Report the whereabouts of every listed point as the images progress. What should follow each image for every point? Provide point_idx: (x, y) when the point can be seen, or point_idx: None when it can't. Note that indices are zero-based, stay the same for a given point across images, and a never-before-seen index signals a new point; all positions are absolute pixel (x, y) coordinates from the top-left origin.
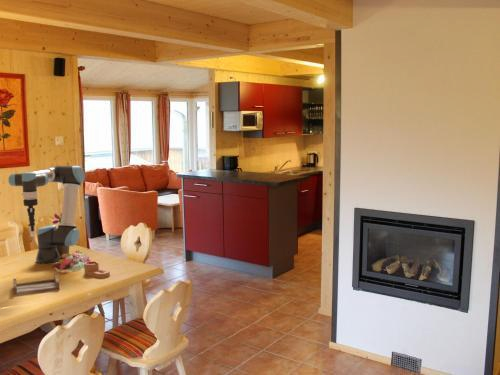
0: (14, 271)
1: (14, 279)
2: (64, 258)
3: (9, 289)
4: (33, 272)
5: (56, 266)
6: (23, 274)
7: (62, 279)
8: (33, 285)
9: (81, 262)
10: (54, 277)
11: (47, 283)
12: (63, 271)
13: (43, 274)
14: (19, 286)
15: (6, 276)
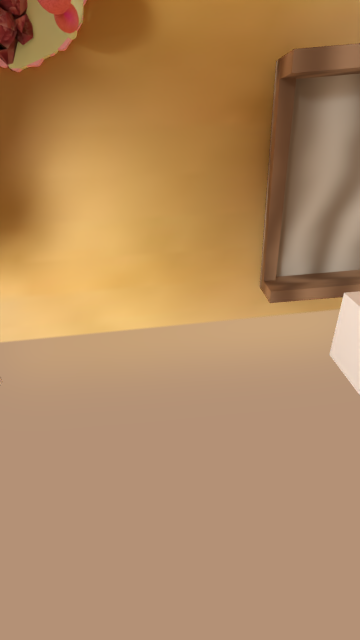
0: (16, 304)
1: (281, 297)
2: None
3: None
4: (48, 217)
5: None
6: (76, 263)
7: (256, 18)
8: (304, 204)
9: None
10: (301, 75)
11: (311, 127)
12: (73, 2)
13: (101, 158)
14: (284, 265)
15: (92, 326)
